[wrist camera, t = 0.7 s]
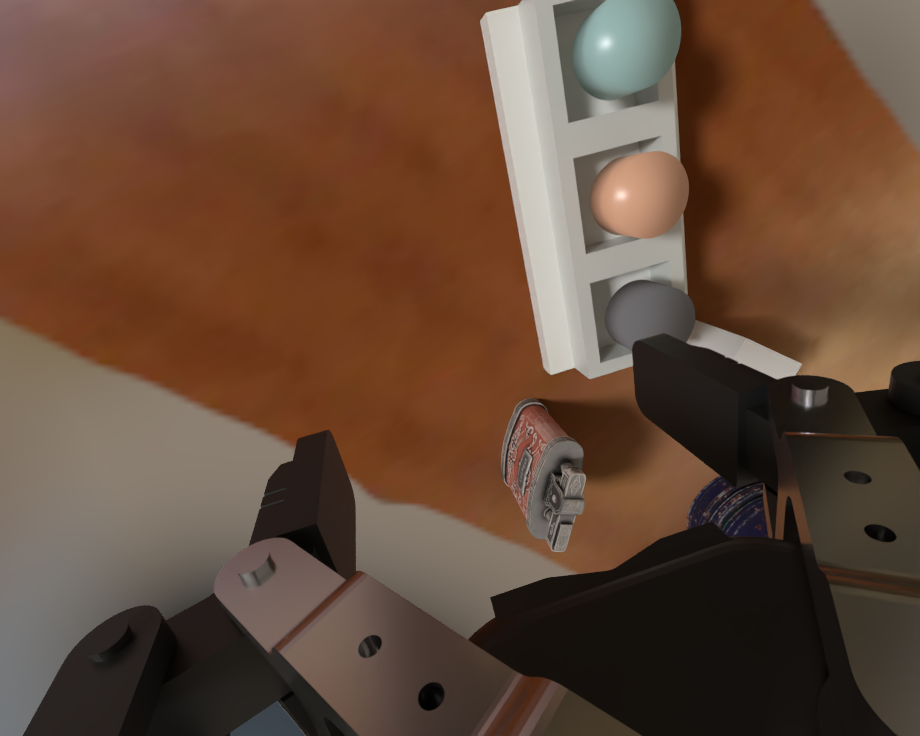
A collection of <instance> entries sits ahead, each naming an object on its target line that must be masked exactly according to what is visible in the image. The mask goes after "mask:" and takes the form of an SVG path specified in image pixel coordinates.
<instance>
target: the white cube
mask: <svg viewBox="0 0 920 736" xmlns="http://www.w3.org/2000/svg"><path fill="white" fill-rule="evenodd" d="M688 344H690V345H693V346H698V347H704V348H709V349H711V350H713V351H715V352H718V353H720V354H722V355H724V356H725V358H727V357H729V358H731V359H733V360H735V361H738V364H740V363H742V364H744V365H746V366H749V367H751V368H753V369H755V370H757V371H760V372H762V373H764V374H766V375H768V376H771V377H773V378H775V379H777V380H778V379H780V378H784V377H789V376H795V375H796V373H797V372H798V370H799V368H800V367H801V365H802V364H801V363H799V362H797V361H795V360H793V359H790V358H788V357H786V356H784V355H782V354H780V353H778V352H775V351H773V350H771V349H769V348H767V347H765V346H762V345H760V344H758V343H756V342H754V341H752V340H750V339H747V338H745V337H742V336H740V335H737V334H734V333H731V332H728V331H725V330H723V329H720V328H717V327H714V326H711V325H709V324H706V323H703V322H700V321H697V320H695V324H694V328H693V331H692V333H691V335H690V337H689V339H688Z"/></svg>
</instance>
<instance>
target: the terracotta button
mask: <svg viewBox="0 0 920 736" xmlns="http://www.w3.org/2000/svg"><path fill="white" fill-rule="evenodd" d="M688 195H689V181H688V177H687V173H686V171H685V169H684V167H683V165H682V164H681V162H680V161H679V160H678V159H677V158H675V157H674V156H673V155H671V154H669V153H666V152H662V151H652V152H646V153H640V154H634V155H628V156H622V157H619V158H616V159H614V160H612V161H611V162H609V163H608V164H607V165H606V166H604V167H603V169H602V170H601V171H600V172H599V174H598V175H597V177H596V179H595V181H594V183H593V186H592V190H591V195H590V205H591V211H592V214H593V217H594V219H595V221H596V222H597V224H598V225H599V226H600V227H601V228H602V229H603V230H605V231H606V232H608V233H611V234H614V235H621V236H628V237H635V238H644V239H648V238H654V237H657V236H660V235H662V234H664V233H666V232H667V231H669V230H670V229H671V228H672V227H673V226H674V225H675V224H676V223H677V222H678V220H679V219H680V217H681V216H682V214H683V212H684V210H685V207H686V204H687V201H688Z"/></svg>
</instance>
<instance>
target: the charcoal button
mask: <svg viewBox="0 0 920 736" xmlns="http://www.w3.org/2000/svg"><path fill="white" fill-rule="evenodd" d="M605 324H606V329H607V331H608V333H609V335H610V337H611V338H612V339H613V340H614V341H615V342H617V343H618V344H620V345H622V346H624V347H626V348H628V349H629V350H631V351H632V347H633V344H634V342H635V341H637V340H640V339H644V338H647V337H651V336H654V335H657V334H661V333H666V334H668V335H670V336H672V337H675V338H677V339H679V340H681V341H683V342H685V343H686V342H687V340H688V339H689V337H690V335H691V333H692V331H693V328H694V324H695V308H694V305H693V302H692V300H691V299H690V297H689V296H688V295H687V294H686V293H685V292H683V291H682V290H680V289H677V288H674V287H670V286H667V285H663V284H660V283H656V282H652V281H649V280H635V281H632V282H629V283H627V284H625V285H624V286H622V287H621V288H620V289H619V290H617V292H616V293H615V294H614V295H613V296H612V298H611V300H610V301H609V304H608V306H607V309H606V314H605Z"/></svg>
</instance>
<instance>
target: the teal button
mask: <svg viewBox="0 0 920 736" xmlns="http://www.w3.org/2000/svg"><path fill="white" fill-rule="evenodd" d="M680 41H681V21H680V16H679V12H678V9H677V7H676V5H675V2H674V1H673V0H606V1H605V2H603V3H602V4H601V5H600V6H598V7H597V8H596V9H595V10H593V11H592V12H591V13H590V14H589V15H588V16H587V17H586V18H585V19H584V20H583V22H582V23H581V25H580V27H579V29H578V31H577V33H576V36H575V39H574V43H573V50H572V61H573V68H574V72H575V75H576V77H577V79H578V81H579V83H580V85H581V86H582V87H583V89H584V90H585V91H586V92H587V93H588V94H590V95H591V96H593V97H595V98H597V99H600V100H605V101H611V100H616V99H619V98H622V97H625V96H627V95H630V94H632V93H635V92H637V91H640V90H643V89H645V88H648V87H650V86H652V85H654V84H655V83H657V82H658V81H659V80H661V79H662V78H663V77H664V76H665V75H666V73H667V72H668V71H669V69H670V68H671V66H672V65H673V63H674V61H675V58H676V56H677V53H678V50H679V46H680Z"/></svg>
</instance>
